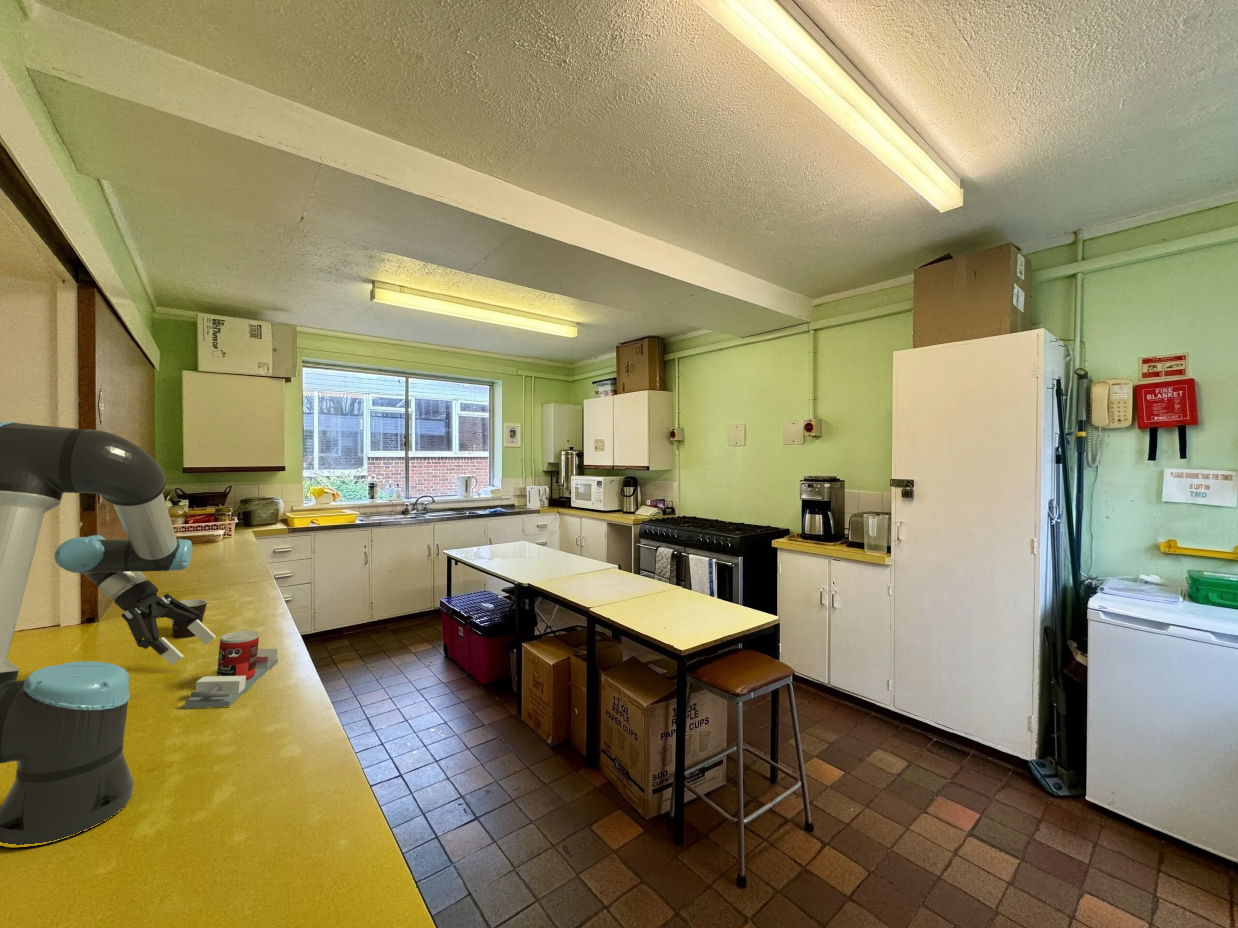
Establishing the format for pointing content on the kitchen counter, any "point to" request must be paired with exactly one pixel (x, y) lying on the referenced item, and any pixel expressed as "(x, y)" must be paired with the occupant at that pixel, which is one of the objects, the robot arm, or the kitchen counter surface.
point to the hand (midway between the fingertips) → (195, 650)
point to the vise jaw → (266, 657)
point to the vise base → (226, 699)
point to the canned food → (238, 654)
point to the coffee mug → (181, 628)
